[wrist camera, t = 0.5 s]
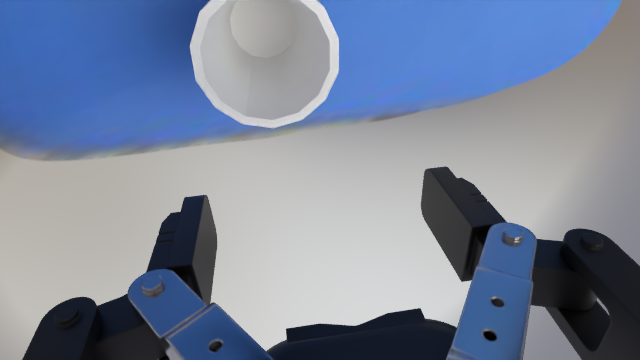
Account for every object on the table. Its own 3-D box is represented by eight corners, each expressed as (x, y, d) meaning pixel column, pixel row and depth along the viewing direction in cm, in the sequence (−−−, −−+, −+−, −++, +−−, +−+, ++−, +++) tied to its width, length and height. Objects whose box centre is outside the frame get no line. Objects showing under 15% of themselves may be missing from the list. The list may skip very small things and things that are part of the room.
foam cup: (324, -21, 35) (355, -4, 24) (305, 80, 40) (324, 134, 29) (214, -46, 33) (193, -39, 22) (206, 64, 38) (186, 116, 26)
